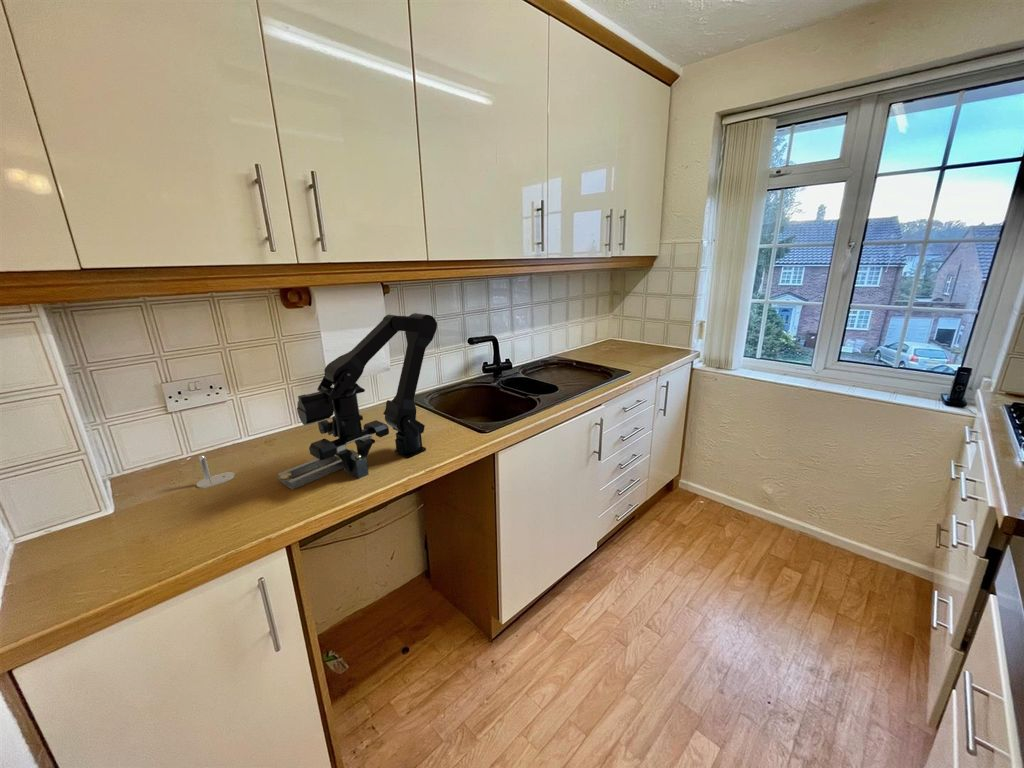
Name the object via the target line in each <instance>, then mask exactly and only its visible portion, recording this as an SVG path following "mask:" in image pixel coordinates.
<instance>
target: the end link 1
mask: <svg viewBox="0 0 1024 768" xmlns="http://www.w3.org/2000/svg"><path fill="white" fill-rule="evenodd" d="M277 475H278V476H277V477H278V480H279V481H280V482H281V483H282V484H283V485H284V486H286V487H287V488H289V489H290V490H295V489H297V488H300V487H303V486H304V485H306V484H308V483H311V482H314V481H316V480H319V479H321V478H323V477H325V476H328V475H329V473H328V468H327V465H323V466H320V467H318V466H317V461H316V459H312V460H310V461H307V462H305V463H302V464H299V465H297V466H294V467H291V468H289V469H287V470H284V471H281V472H278V474H277Z"/></svg>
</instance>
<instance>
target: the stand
mask: <svg viewBox="0 0 1024 768" xmlns="http://www.w3.org/2000/svg"><path fill="white" fill-rule="evenodd" d="M198 458H199V461H200V466H201V469H202V473H203V477H204V478H202V479H201V480H199V481H197V483H196V487H197V489H205V488H209V487H213V486H216V485H220V484H223V483H227V482H228V481H231V480H232V479H233V478H235V476H236V475H235V473H234V472H231V471H227V472H221V473H218V474H216V475H212V476H211V473H210V470H209V466H208V462H207V461H208V460H207V457H206V456H205V455H198Z"/></svg>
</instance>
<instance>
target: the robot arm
mask: <svg viewBox="0 0 1024 768" xmlns="http://www.w3.org/2000/svg"><path fill="white" fill-rule="evenodd" d="M437 330H438V322H437V321H436V318H435V317H434V316H432V315H430V314H425V313H417V312H414V313H411V314H410V315H408V316H407V315H396V314H390V313H389V314H387V315H385V316H383V318H382V319H381V321H380V322H379V323H378V324H377V325H376V326H375V327H373V329H371V331H370V332H369V333H367V334H366V336H365V337H363V338H362V340H361V341H359V342H358V343H357V344H356V345H355V346H354V347H353V348H352V349H351V350H349V351H347V352H346V353H344V354H341V355H340V356H338V357H337V358H335V359H334V360H332V361H331V362H329V363H328V364H326V367H325V368H324V373H323V374H324V375H323V377H322V380H321V382H320V383H319V385H318V387H317V389H316V390H317V392H312V393H308V394H301V395H300V394H299V395H298V397H297V398H298V401H297V407H296V411H297V414H298V418H299V420H300V421H301V423H302V425H304V426H307V425H311V424H315V423H317V425H318V430H319V432H320V434H321V435H324V434H327V435H328V436H331V435H332V437H335V438H336V437H337V439H334V440H328V439H327V438H322V439H319V440H316V441H314V442H310V445H309V447H308V448H309V449H308V450H309V454H310V455H311V456H313V457H315V459H317V458H318V459H319V460H325V459H327V458H330V457H332V456H335V455H337V456H339V457H340V459H341V460H342V462H343V463H344V465H345V466H346V468H347V470H348V471H349V472H352V462H351V452H350V450H351V449H348V448H347V444H351V443H355V446H356V452H357V453H359V454H361V455H363V456H365V457H366V458H367V457H368V455H369V452H370V450H371V449H372V445H373V444H375V443H376V440H375V439H374V438H373V437H372V435H374V434H375V436H376V437H378V438H383V437H386V436H387V435H389V434H390V430H389V428H390V427H391V428H392V430H393V431H396V433H395V440H394V441H395V449H394V453H396V454H398V455H400V456H403V457H405V458H406V459H408V458H409V459H410V458H411V457H414V456H416V455H418V454H421V453H422V452H424V451H427V448H426V447H425V446H423V439H422V434H424V432H425V424H423V423H422V422H420V421H419V420H418V419H417V408H416V407H417V406H416V402H415V396H416V391H417V389H418V388H417V387H418V382H419V379H420V375H421V370H422V366H423V362H424V357H425V352H426V349H427V347H428V346H429V344H431V342H432V341H433V340H434V336H435V334H436V332H437ZM398 332H404V335H405V339H406V342H407V346H406V350H405V355H404V360H403V362H402V367H401V372H400V373H401V374H400V376H399V382H398V385H397V390H396V394H395V396H394V397H393V399H391V400H389V399H387V400H386V402H385V410H384V411H383V413H382V414H383V415H384V421H385V422H386V423H387V424H386V423H384V422H382V421H380V420H376V419H375V420H372V421H369V422H367V423H365V424H364V425H363V428H362V422H361V421H363V420H364V417H363V415H361V414H360V408H359V402H358V401H359V400H358V396H357V395H358V394H361V393H362V394H363V393H365V391H366V389H365V388H362V386H360V385H359V384H358V380H359V379H360V378H361V376H362V375H363V373H364V370H365V367H366V365H367V364H368V362H370V360H372V359H373V357H374V356H375V355H376V354H377V353H378V352H379V351H380V350H381V349H382V348H384V347H385V345H386V344H388V342H389V341H390V340H391V339H393V337H394V336H395V335H396V334H397V333H398ZM332 386H333V387H332ZM331 417H332V418H331ZM327 419H331V421H330V422H329V421H328V420H327ZM389 426H390V427H389Z"/></svg>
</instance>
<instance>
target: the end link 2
mask: <svg viewBox="0 0 1024 768" xmlns="http://www.w3.org/2000/svg"><path fill="white" fill-rule="evenodd" d="M315 460H316V461H317V466H318V468H321V467H324V466H326V467H327V468H328V474H333V473H335V472H337V471H340V470H342V469H344V466H343V462H342V460H341V459H340V457H339V456H337V455H335V456H332V457H330V458H327V459H325V460H319V459H318V458H315Z"/></svg>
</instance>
